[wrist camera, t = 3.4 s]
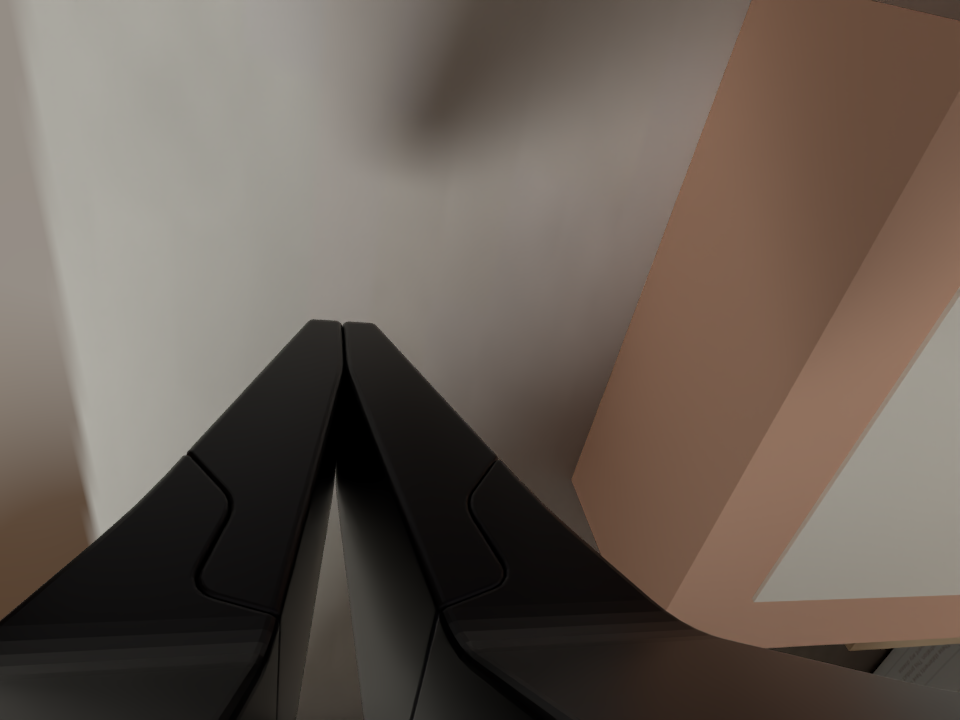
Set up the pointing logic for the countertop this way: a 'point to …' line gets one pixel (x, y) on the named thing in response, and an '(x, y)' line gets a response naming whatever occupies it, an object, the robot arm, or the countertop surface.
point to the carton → (800, 346)
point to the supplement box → (924, 666)
